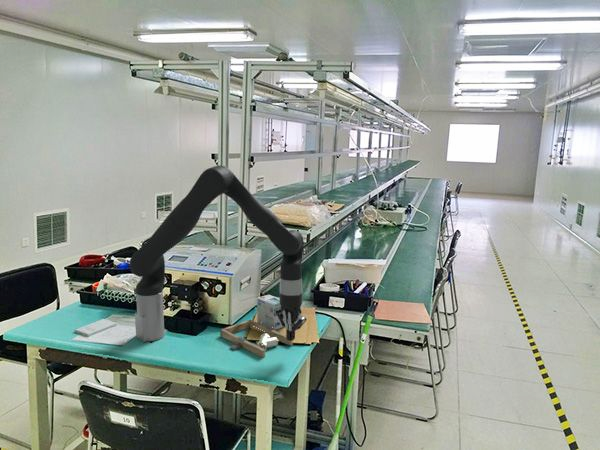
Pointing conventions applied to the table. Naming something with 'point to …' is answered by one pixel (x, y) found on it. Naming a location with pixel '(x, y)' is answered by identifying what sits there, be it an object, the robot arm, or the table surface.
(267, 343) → the pipe fitting
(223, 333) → the wooden frame
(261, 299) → the light bulb box
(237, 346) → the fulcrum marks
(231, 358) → the table surface
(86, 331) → the external hard drive
